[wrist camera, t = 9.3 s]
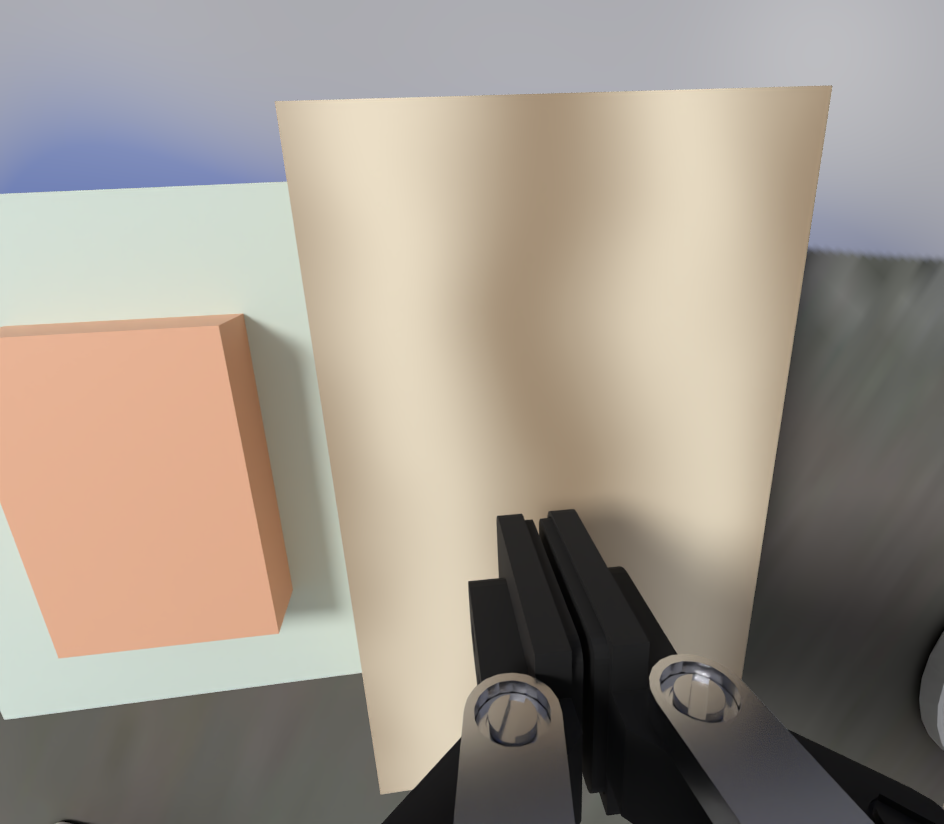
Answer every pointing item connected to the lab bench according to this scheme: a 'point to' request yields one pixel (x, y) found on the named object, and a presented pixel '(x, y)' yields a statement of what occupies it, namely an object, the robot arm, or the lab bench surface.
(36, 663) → the mat
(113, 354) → the salmon orange block
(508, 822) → the robot arm
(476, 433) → the beige wooden block
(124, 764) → the lab bench surface
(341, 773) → the lab bench surface
